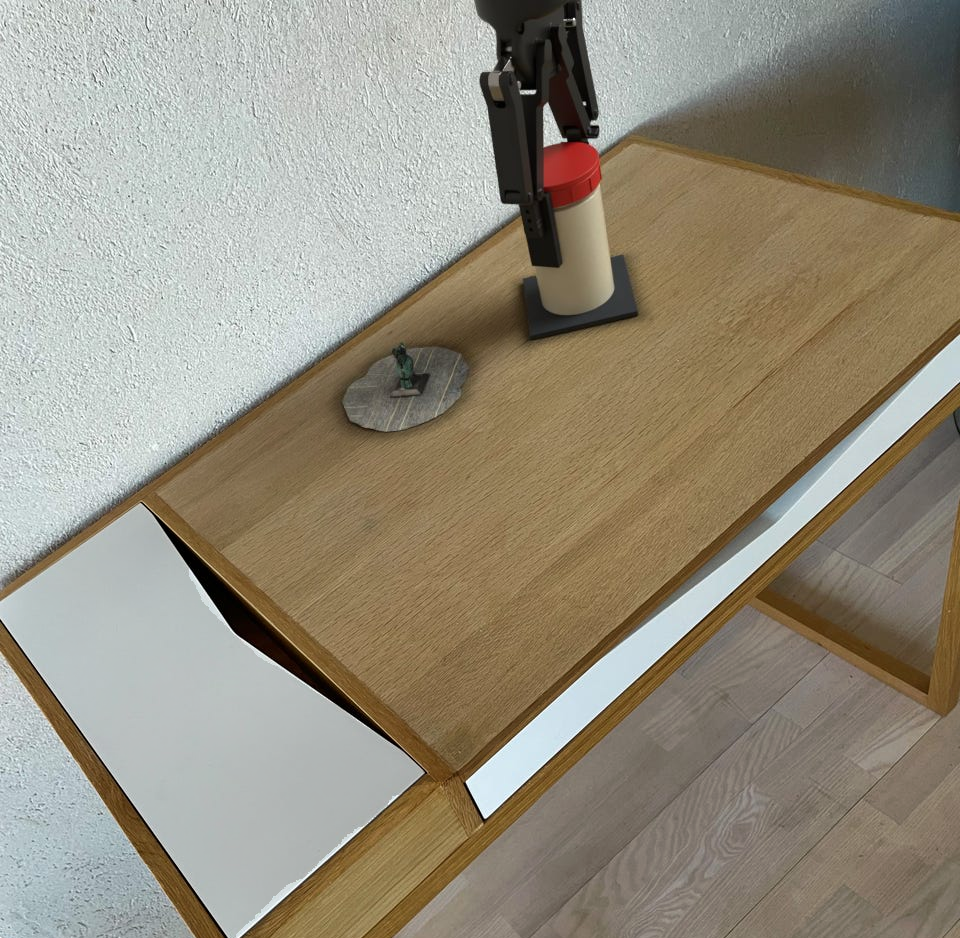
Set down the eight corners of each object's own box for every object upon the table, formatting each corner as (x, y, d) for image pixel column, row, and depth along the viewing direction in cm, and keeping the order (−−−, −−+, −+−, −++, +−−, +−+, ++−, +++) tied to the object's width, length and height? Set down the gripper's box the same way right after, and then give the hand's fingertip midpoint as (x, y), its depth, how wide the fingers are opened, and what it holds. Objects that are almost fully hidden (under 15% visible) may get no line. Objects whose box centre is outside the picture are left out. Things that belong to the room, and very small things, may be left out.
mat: (623, 258, 93) (623, 254, 93) (638, 315, 87) (637, 310, 86) (523, 282, 95) (522, 278, 94) (530, 340, 88) (529, 335, 88)
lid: (580, 210, 79) (576, 188, 77) (501, 207, 82) (497, 186, 81) (615, 163, 82) (612, 141, 81) (538, 163, 86) (534, 141, 84)
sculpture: (448, 335, 93) (451, 304, 85) (480, 423, 93) (487, 400, 85) (331, 375, 92) (323, 347, 84) (364, 463, 92) (359, 444, 84)
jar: (609, 265, 92) (592, 145, 83) (619, 304, 87) (601, 183, 79) (538, 282, 93) (514, 166, 84) (544, 322, 89) (519, 204, 80)
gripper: (499, 5, 62) (556, 309, 80) (618, -115, 72) (646, 180, 89) (404, 11, 66) (479, 301, 83) (530, -104, 75) (573, 178, 93)
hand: (565, 238), depth 86 cm, fingers closed on lid, 7 cm apart
